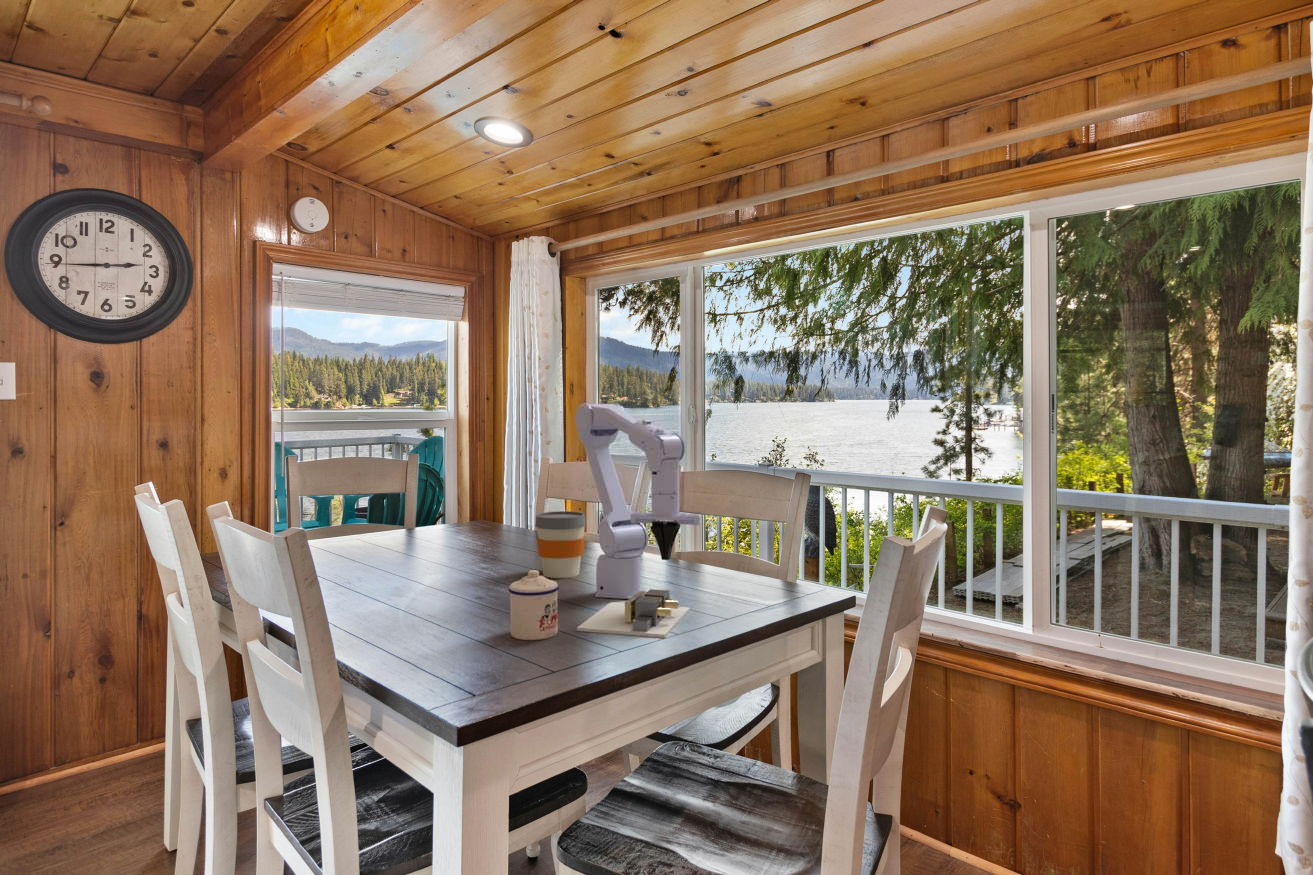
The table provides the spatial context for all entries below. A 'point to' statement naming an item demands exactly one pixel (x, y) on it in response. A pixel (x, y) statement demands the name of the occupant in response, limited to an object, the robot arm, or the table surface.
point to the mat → (614, 622)
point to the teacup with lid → (533, 607)
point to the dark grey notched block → (659, 595)
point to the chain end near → (646, 613)
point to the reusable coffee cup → (560, 542)
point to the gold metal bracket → (660, 611)
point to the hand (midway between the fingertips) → (666, 559)
